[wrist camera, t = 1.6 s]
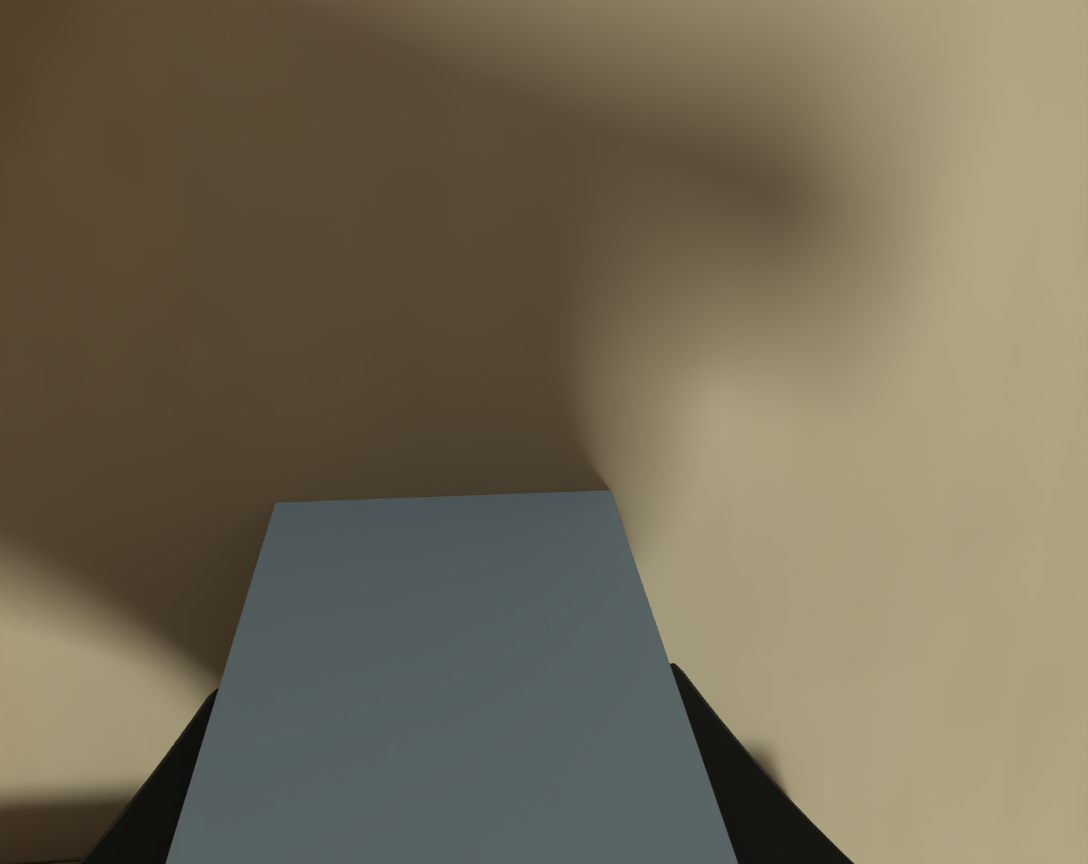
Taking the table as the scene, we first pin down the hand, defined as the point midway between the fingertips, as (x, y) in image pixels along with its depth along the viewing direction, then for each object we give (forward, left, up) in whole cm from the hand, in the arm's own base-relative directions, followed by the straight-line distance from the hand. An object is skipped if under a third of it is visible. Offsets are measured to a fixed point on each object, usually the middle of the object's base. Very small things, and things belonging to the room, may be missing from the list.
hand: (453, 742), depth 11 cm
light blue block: (-1, 0, -2) cm, 2 cm away
